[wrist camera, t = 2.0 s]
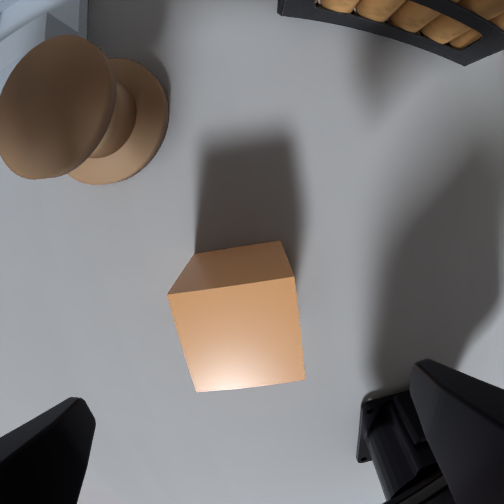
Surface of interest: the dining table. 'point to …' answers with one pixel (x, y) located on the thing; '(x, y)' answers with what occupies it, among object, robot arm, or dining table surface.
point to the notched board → (40, 8)
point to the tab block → (239, 318)
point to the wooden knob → (80, 114)
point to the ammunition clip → (416, 22)
